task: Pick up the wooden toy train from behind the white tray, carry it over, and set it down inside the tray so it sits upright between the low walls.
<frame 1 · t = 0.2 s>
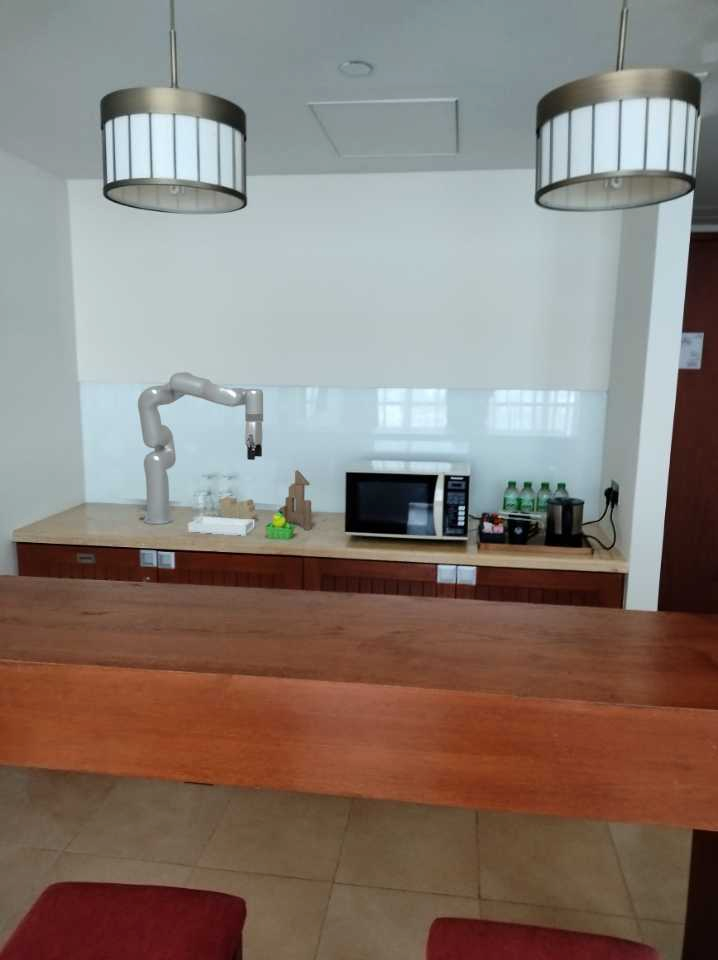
hand: (254, 457, 294), 30 cm above the worktop, tool pointing down, fingers open, 9 cm apart
wooden toy: (295, 527, 300), on the worktop
fruit basket: (279, 538, 282), on the worktop
white tray: (222, 530, 292), on the worktop
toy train: (238, 521, 309), on the worktop
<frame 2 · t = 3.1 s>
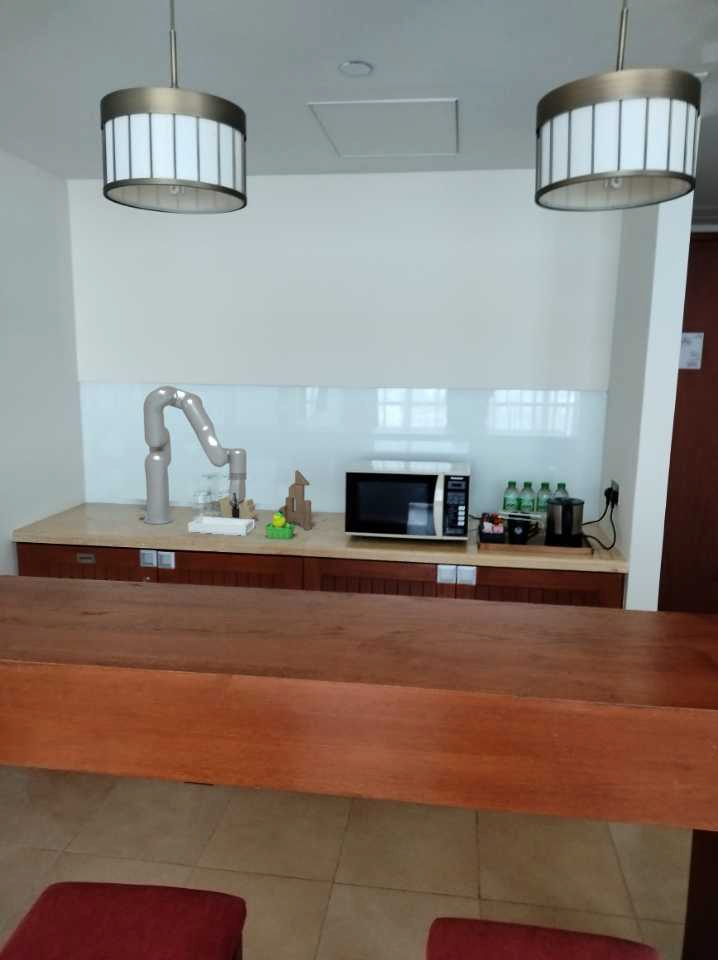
hand: (238, 515, 309), 3 cm above the worktop, tool pointing down, fingers closed on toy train, 6 cm apart
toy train: (238, 521, 309), on the worktop, touching gripper
everything else where it was.
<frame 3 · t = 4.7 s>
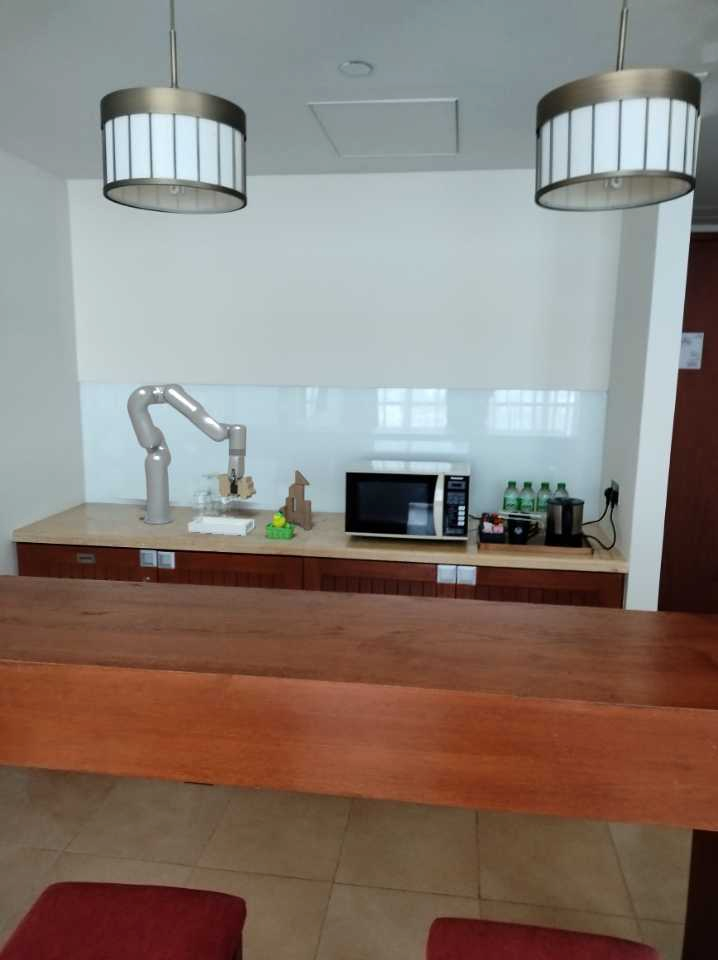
hand: (236, 491, 307), 13 cm above the worktop, tool pointing down, fingers closed on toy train, 6 cm apart
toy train: (236, 498, 307), point 11 cm above the worktop, touching gripper
everything else where it was.
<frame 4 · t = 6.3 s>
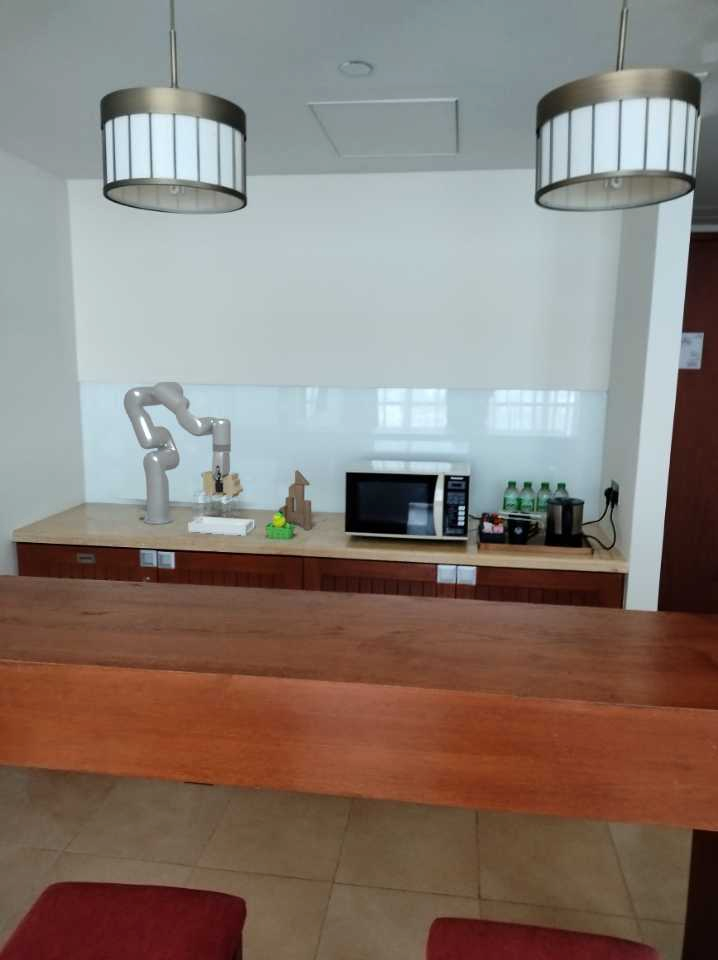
hand: (222, 490, 289), 17 cm above the worktop, tool pointing down, fingers closed on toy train, 6 cm apart
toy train: (222, 496, 290), point 15 cm above the worktop, touching gripper
everything else where it was.
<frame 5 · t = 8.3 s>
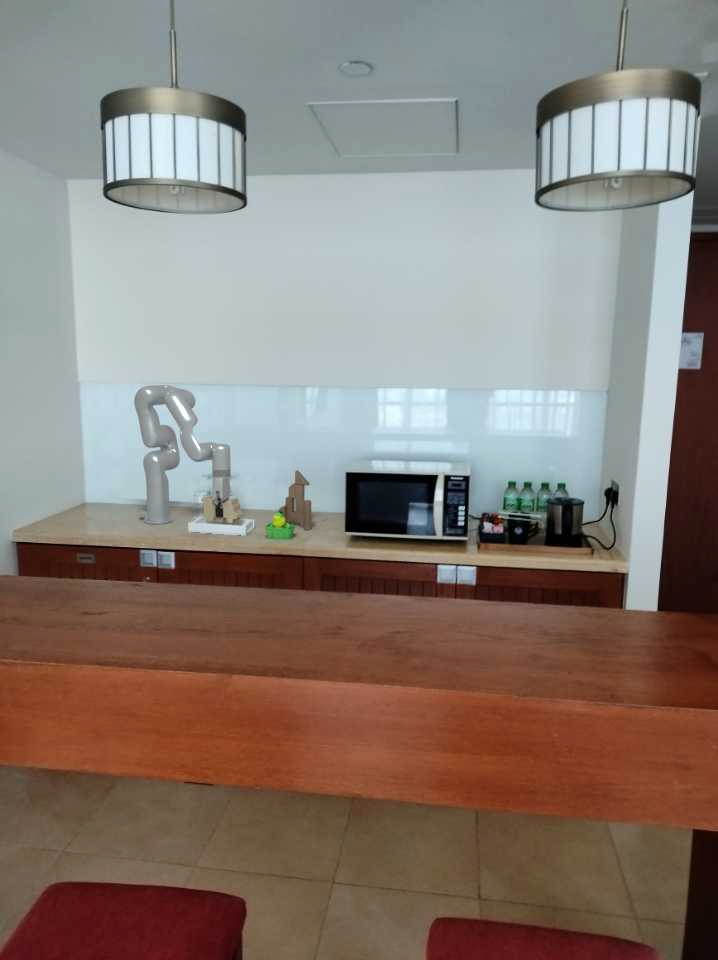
hand: (222, 514, 291), 7 cm above the worktop, tool pointing down, fingers closed on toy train, 6 cm apart
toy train: (222, 521, 291), point 4 cm above the worktop, touching gripper
everything else where it was.
when the fingers open (5 cm above the worktop, at t = 9.6 s): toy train drops 1 cm, resting on white tray.
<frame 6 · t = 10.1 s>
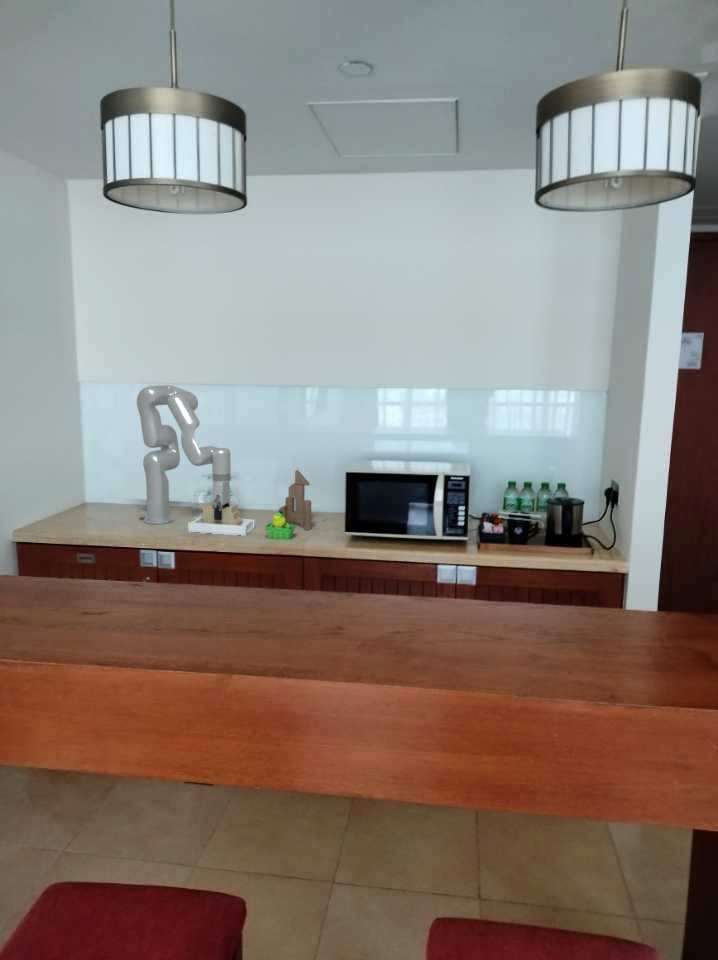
hand: (222, 517, 291), 6 cm above the worktop, tool pointing down, fingers open, 9 cm apart
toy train: (222, 528, 292), point 1 cm above the worktop, touching white tray
everything else where it was.
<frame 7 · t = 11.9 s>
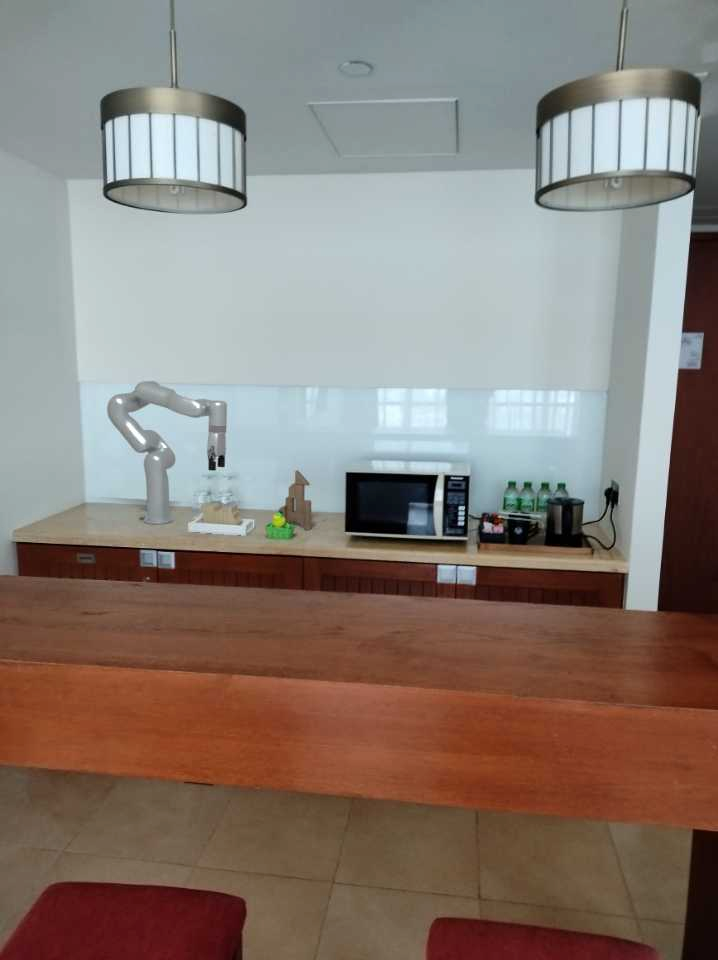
hand: (216, 468, 297), 25 cm above the worktop, tool pointing down, fingers open, 9 cm apart
nothing on the worktop moved.
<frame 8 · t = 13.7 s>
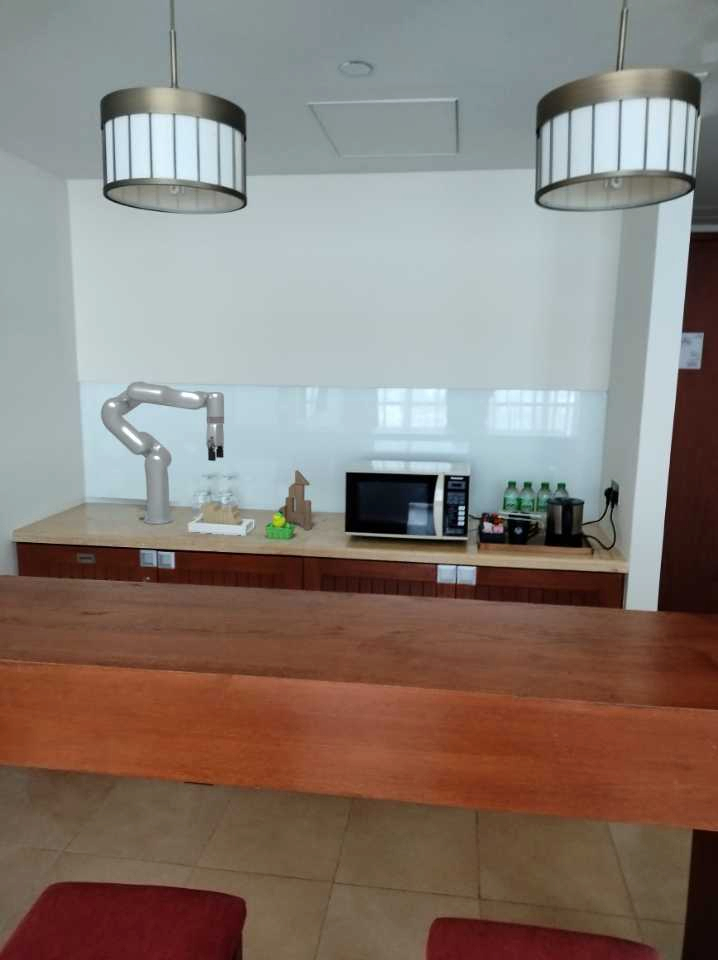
hand: (216, 459, 303), 28 cm above the worktop, tool pointing down, fingers open, 9 cm apart
nothing on the worktop moved.
at the end: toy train 0.1 cm off-centre on the white tray, point 0.8 cm above the white tray's base; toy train touching white tray; the gripper is holding nothing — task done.
